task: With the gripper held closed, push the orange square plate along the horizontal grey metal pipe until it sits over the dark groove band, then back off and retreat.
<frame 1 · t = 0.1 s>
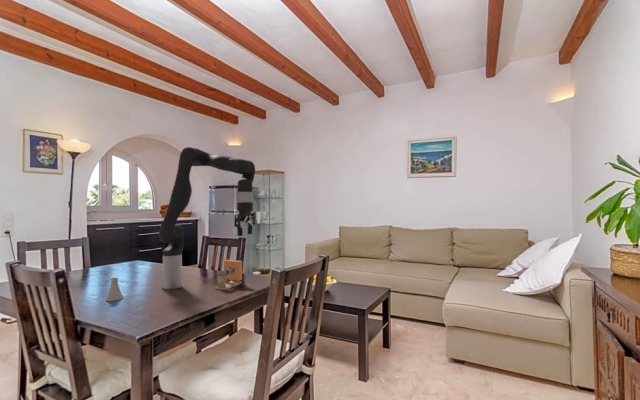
hand: (245, 235, 159), 29 cm above the table, tool pointing down, fingers open, 8 cm apart
pipe stand: (229, 286, 177), on the table
orange square plate: (232, 269, 180), point 8 cm above the table, slide at 0.0 cm
flask: (114, 300, 154), on the table
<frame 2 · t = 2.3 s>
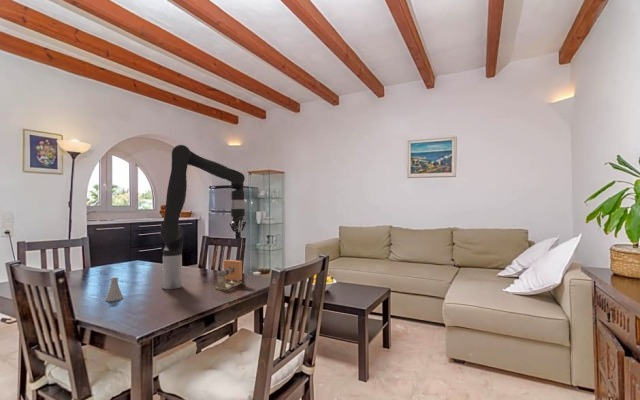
hand: (238, 238, 185), 24 cm above the table, tool pointing down, fingers closed
nothing on the table moved.
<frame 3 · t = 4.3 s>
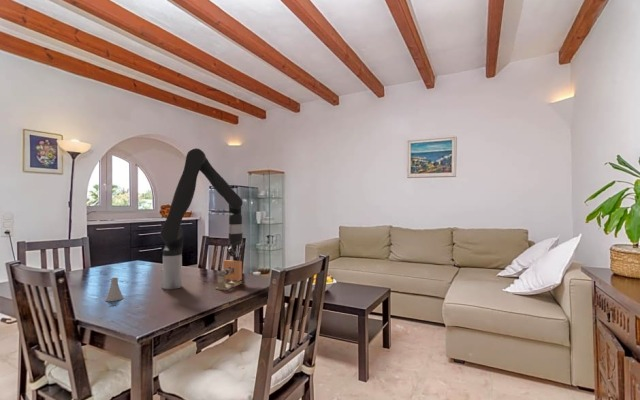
hand: (235, 263, 183), 11 cm above the table, tool pointing down, fingers closed
orange square plate: (232, 270, 180), point 8 cm above the table, slide at 0.3 cm, touching gripper
everything else where it was.
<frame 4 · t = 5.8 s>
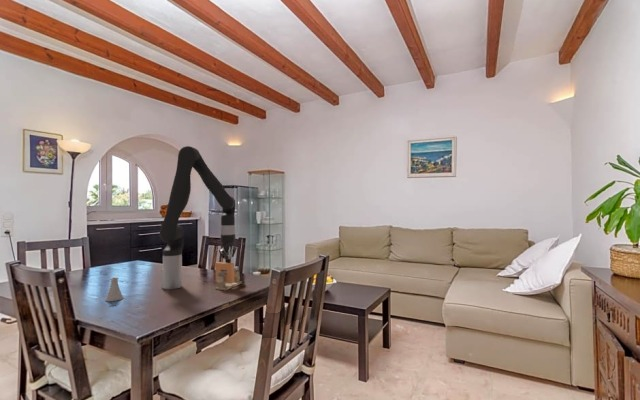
hand: (228, 265, 176), 11 cm above the table, tool pointing down, fingers closed
orange square plate: (224, 272, 173), point 8 cm above the table, slide at 7.1 cm, touching gripper
everything else where it was.
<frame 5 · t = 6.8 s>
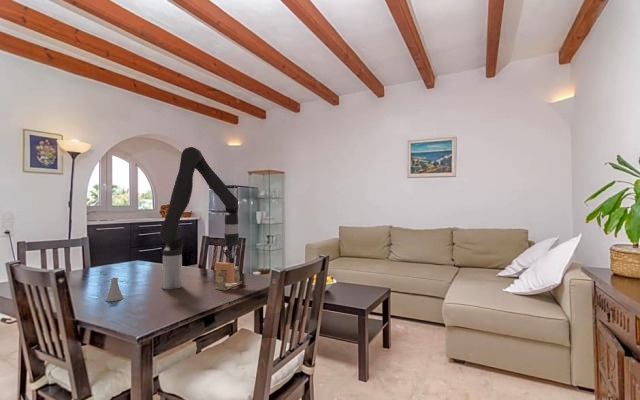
hand: (231, 264, 179), 11 cm above the table, tool pointing down, fingers closed
orange square plate: (224, 272, 173), point 8 cm above the table, slide at 7.0 cm
everything else where it was.
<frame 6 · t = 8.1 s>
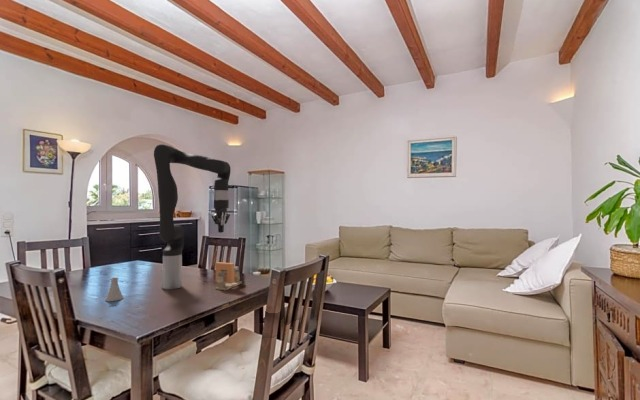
hand: (220, 232, 172), 29 cm above the table, tool pointing down, fingers closed
nothing on the table moved.
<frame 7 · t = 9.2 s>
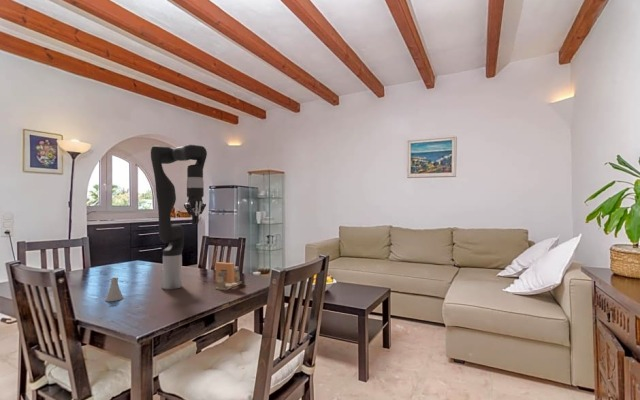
hand: (195, 223, 157), 35 cm above the table, tool pointing down, fingers closed
nothing on the table moved.
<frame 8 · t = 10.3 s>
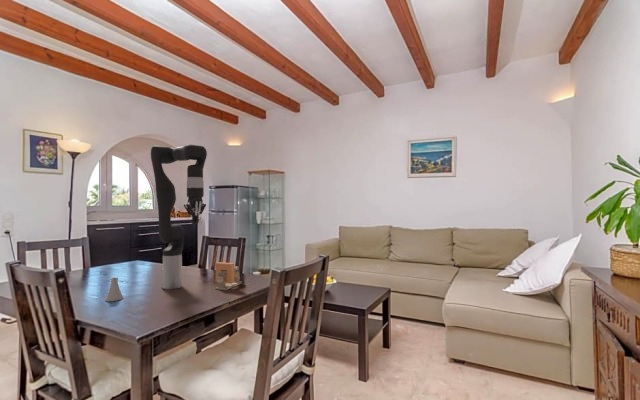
hand: (195, 223, 157), 35 cm above the table, tool pointing down, fingers closed
nothing on the table moved.
at the end: orange square plate slide at 7.0 cm; orange square plate touching nothing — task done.
